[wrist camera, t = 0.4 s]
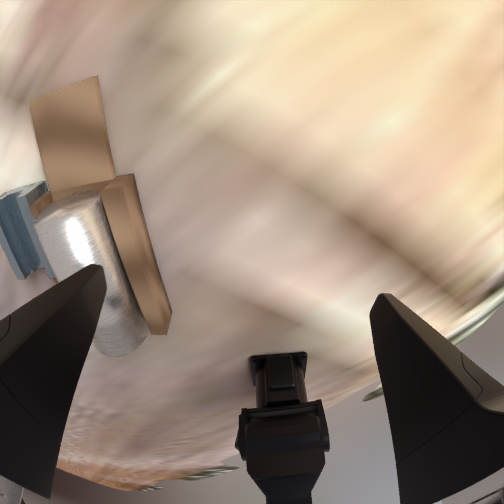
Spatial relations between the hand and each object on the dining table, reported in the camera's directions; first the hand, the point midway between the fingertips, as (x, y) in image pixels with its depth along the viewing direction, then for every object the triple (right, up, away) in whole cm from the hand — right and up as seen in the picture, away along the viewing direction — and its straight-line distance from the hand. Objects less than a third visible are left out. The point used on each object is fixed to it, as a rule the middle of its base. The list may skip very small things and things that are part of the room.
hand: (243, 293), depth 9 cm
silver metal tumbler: (-13, +1, +15) cm, 19 cm away
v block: (-20, +4, +13) cm, 24 cm away
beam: (-13, +4, +13) cm, 19 cm away
